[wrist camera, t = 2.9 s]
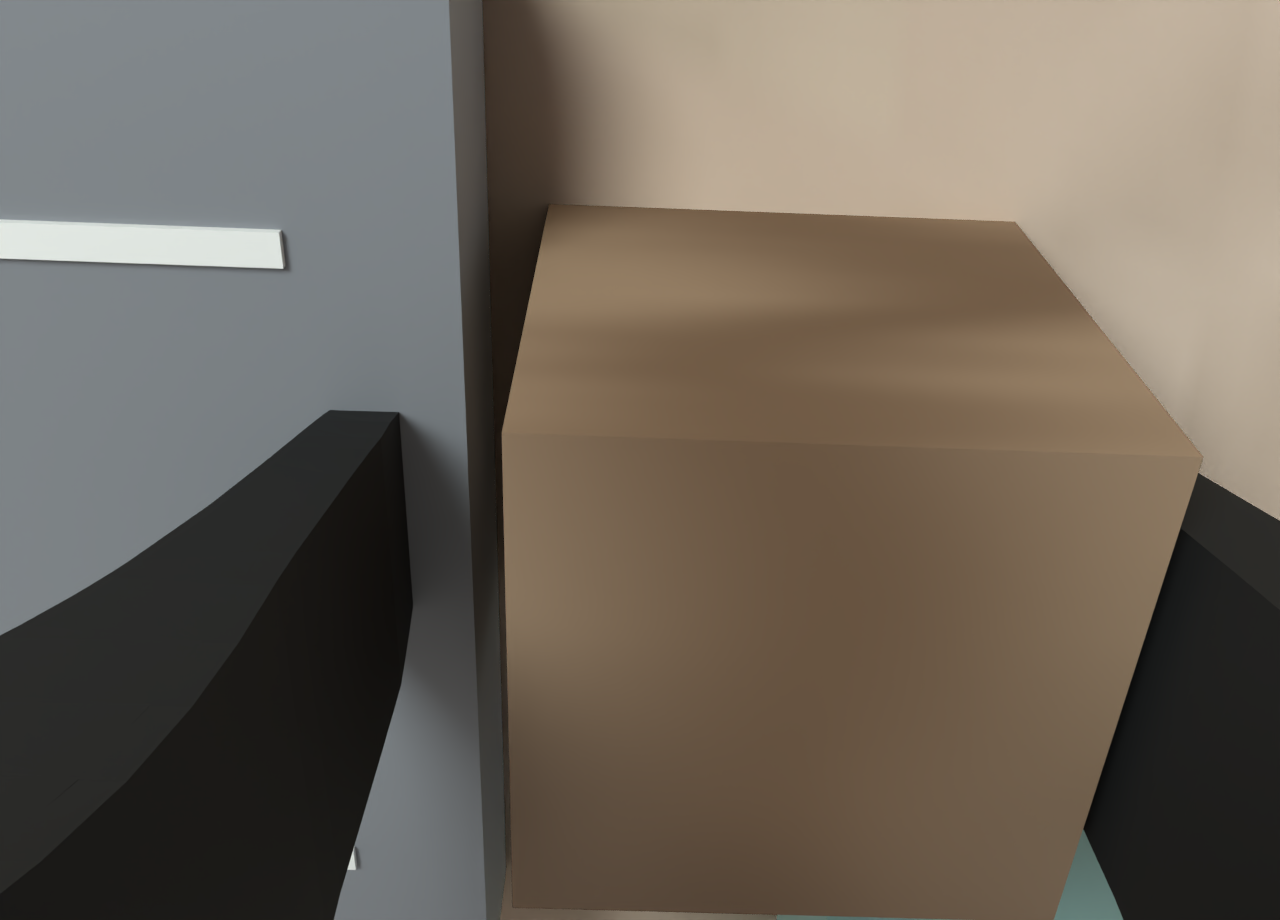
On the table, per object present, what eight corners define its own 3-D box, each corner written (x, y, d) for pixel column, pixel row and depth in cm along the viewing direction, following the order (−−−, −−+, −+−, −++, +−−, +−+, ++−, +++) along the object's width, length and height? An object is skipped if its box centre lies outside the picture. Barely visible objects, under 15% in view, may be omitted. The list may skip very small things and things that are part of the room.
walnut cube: (1015, 221, 12) (1203, 458, 8) (937, 595, 14) (1053, 922, 10) (549, 203, 11) (501, 431, 8) (548, 583, 14) (513, 907, 10)
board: (479, -115, 10) (444, -88, 8) (506, 869, 16) (489, 1007, 14) (-491, -156, 10) (-741, -136, 8) (-94, 852, 16) (-186, 990, 14)
